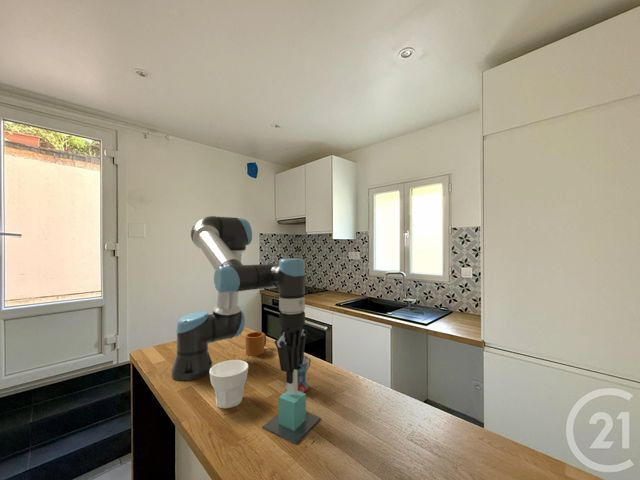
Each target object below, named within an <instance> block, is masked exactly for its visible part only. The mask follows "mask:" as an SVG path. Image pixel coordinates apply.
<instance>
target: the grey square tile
mask: <svg viewBox="0 0 640 480" xmlns="http://www.w3.org/2000/svg"><path fill="white" fill-rule="evenodd" d="M320 420H321V417H320V416H318V415H316V414H313V413H311V412H307V411H306V420H305V421H304V422H303V423H302V424H301V425H300V426H299V427H298V428H297V429H296V430H295V431H293V430H291V429H289V428H286V427H284V426H282V425H280V424H279V412H278V413H277V414H276V415H275V416H273V417H272V418H271V419H270V420H268V421H267V422H266V423H264V424H263V425H262V429H263V430H265V431H267V432H269V433H270V434H271V433H272V434H274V435H276V436H278V437H280V438H281V439H284V440H286V441H288V442H290V443H292V444H294V445H296V446H297V445H298V444H299V442H300V441H301V440H302V439H304V437H306V435H307V434H308V433H309V432H310V431H311V430H312V429H313V428H314V427H315V426H316V425H317V424H318V423H319V421H320Z"/></svg>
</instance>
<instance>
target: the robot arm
mask: <svg viewBox="0 0 640 480" xmlns="http://www.w3.org/2000/svg"><path fill="white" fill-rule="evenodd" d="M190 237H191V241H192V243H193V244H194V245H195V247H197V248H198V249H200V250H201V251H202V252H203V254H204V256H205V258H206V259H207V260H208V261H209V263H210V265H211V266H212V268H213V269H214V270H215V271H214V275H213V283H214V286H215V290H216V291H217V301H216V305H215V306H214V307H213V309H212V310H213V311H212V314H209V313H208V312H207V311H196V312H191V313H187V314H185V315H183V316H182V317H179V319H178V321H177V325H176V356H175V359H174V362H173V365H172V368H171V378H172V379H174V380H175V381H176V380H177V381H192V380H196V379H199V378H200V379H201V378H202V377H204V376H206V375H208V374H210V373H209V371H210V368H212V367H213V362H212V358H211V355H210V353H209V344H211V343H215V342H219V341H223V340H228V339H229V340H231V339H233V338H235V337H239V336H240V335H241V334H242V333H243V331H244V328H245V325H246V324H245V323H246V320H245V316H246V315H245V314H244V311H243V310H242V309H241V306H239V304H238V302H239V293H240V292H244V291H245V292H246V291H253V290H260V289H271V288H275V289H279V290H278V291H279V293H278V294H279V296H278V297H279V298H278V299H279V300H278V301H279V302H278V303H279V304H278V310H279V311H280V312H279V314H278V315H279V316H278V317H279V318H278V321H279V322H278V323H279V326H280V327H281V331H280V337H279V339H275V340H274V344H275V347H276V349H277V354H278V361H279V366H280V371H281V372H284V373H285V374H286V376H285V379H286V381H285V382H287V393H290V394H293V395H295V394H296V393H298V380H297V379H298V369H299V370H300V369H301V366H299V365H300V364H302V363H303V357H304V355H305V347H306V342H307V340H306V339H307V336H308V330H307V329H304V327H303V326H304V325H305V324H306V312H305V310H306V309H305V308H306V306H305V305H306V300H305V299H306V298H305V296H306V294H305V293H306V270H305V269H306V268H305V261H304V259H302V258H296V257H295V258H281V259H279V262H278V263H275V262H271V263H270V262H269V263H267V262H266V263H265V264H243V263H242V254H243V253H244V252H245V251H246V250H247V249H246V248H247V246H249V245H250V244H251V243H252V240H253V230H252V227H251V224H250V222H249V221H248V220H247V219H246V218H241V217H232V216H231V217H229V216H216V215H215V216H214V215H209V216H205V217H203V218H200V219H199V220H198V221H196V222H195V223H194V224H193V226H192V227H191V230H190Z"/></svg>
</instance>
